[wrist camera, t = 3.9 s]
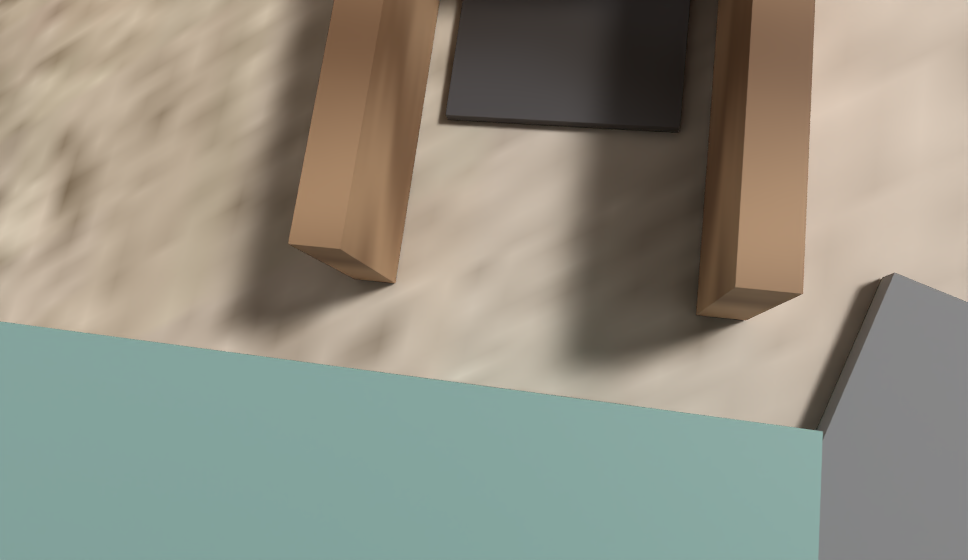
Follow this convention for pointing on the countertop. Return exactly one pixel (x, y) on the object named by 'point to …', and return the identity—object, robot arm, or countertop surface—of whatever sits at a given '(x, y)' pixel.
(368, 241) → the chute
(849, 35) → the countertop surface
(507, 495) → the block
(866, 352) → the mat
